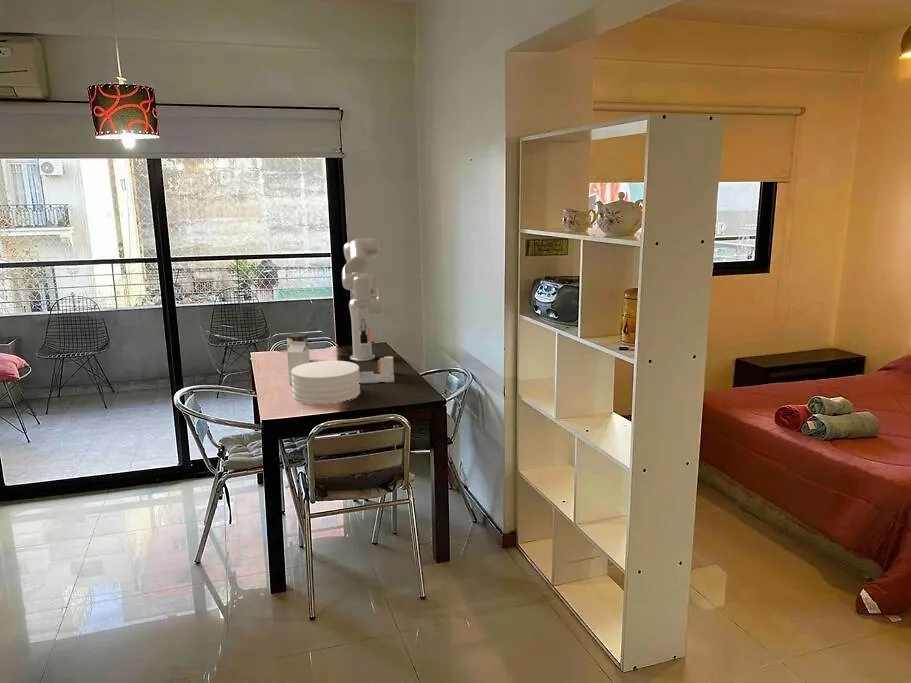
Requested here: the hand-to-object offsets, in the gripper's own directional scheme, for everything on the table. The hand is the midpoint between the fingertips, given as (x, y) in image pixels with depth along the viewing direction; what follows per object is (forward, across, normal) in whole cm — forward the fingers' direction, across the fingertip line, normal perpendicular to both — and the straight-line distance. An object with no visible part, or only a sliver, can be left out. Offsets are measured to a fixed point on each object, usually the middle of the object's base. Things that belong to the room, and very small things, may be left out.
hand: (364, 341), depth 315 cm
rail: (+16, +11, +1) cm, 19 cm away
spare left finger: (+16, +1, +11) cm, 19 cm away
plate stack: (+16, +30, -16) cm, 37 cm away
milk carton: (+16, +10, -29) cm, 34 cm away
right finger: (+1, 0, 0) cm, 1 cm away
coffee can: (+17, -30, -34) cm, 48 cm away
